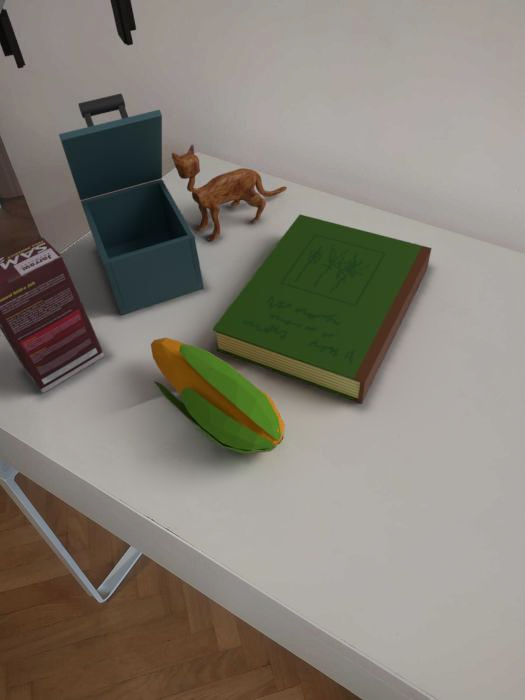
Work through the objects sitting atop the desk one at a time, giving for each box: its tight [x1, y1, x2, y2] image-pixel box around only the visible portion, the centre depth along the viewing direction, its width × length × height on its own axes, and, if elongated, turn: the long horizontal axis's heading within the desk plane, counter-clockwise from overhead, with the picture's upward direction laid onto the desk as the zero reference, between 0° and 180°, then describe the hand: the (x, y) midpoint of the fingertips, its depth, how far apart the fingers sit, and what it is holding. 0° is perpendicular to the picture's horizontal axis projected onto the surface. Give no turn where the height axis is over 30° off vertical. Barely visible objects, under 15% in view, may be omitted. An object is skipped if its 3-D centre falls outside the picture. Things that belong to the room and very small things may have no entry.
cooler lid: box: [58, 93, 163, 201], centre depth 71 cm, size 15×11×5 cm
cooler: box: [80, 178, 204, 316], centre depth 77 cm, size 14×11×9 cm
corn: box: [150, 337, 286, 455], centre depth 61 cm, size 7×8×20 cm
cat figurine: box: [171, 144, 288, 242], centre depth 82 cm, size 18×7×14 cm, turn 127°
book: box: [211, 214, 433, 404], centre depth 72 cm, size 25×19×4 cm
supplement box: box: [0, 236, 105, 394], centre depth 63 cm, size 9×5×16 cm, turn 130°
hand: (74, 51), depth 52 cm, fingers open, 9 cm apart
